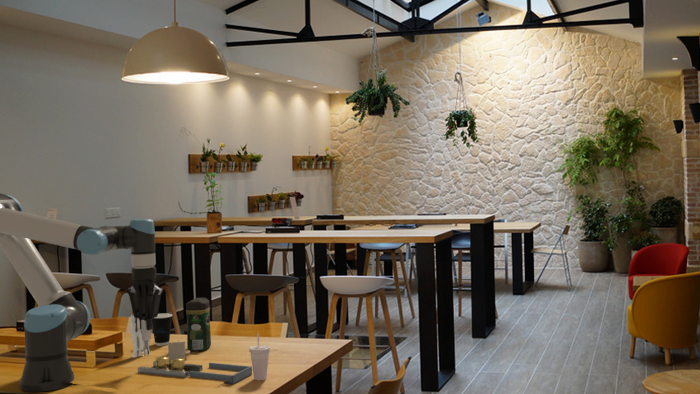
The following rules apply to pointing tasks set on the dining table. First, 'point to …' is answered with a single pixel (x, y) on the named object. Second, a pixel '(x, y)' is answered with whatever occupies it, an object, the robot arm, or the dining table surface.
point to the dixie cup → (162, 328)
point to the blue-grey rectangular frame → (231, 379)
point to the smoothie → (259, 360)
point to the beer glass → (138, 338)
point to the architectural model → (177, 350)
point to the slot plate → (170, 370)
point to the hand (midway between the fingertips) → (146, 339)
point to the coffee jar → (198, 324)
